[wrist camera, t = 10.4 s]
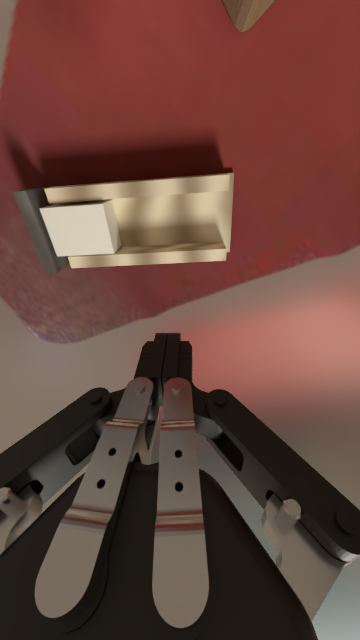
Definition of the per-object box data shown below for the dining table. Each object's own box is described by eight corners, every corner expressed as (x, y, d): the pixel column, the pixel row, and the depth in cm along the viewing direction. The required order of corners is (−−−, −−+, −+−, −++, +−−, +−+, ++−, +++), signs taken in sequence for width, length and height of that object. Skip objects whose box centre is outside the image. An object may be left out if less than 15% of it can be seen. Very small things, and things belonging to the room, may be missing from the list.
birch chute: (233, 172, 29) (241, 174, 25) (229, 250, 35) (234, 263, 30) (38, 187, 31) (12, 191, 27) (64, 259, 37) (46, 273, 32)
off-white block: (112, 199, 31) (102, 204, 28) (121, 244, 34) (114, 253, 31) (55, 203, 32) (39, 208, 28) (69, 247, 35) (57, 256, 32)
